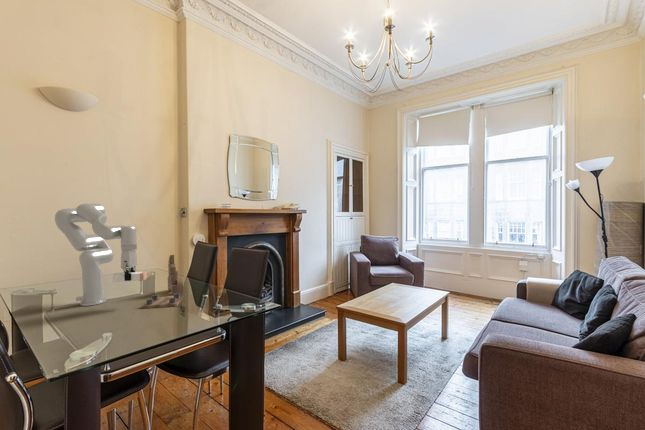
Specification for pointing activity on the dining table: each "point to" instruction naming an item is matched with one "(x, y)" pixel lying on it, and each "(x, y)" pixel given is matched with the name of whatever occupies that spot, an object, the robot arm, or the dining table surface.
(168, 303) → the brown fixture board
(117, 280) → the block
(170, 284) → the wooden toy
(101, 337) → the dining table surface
